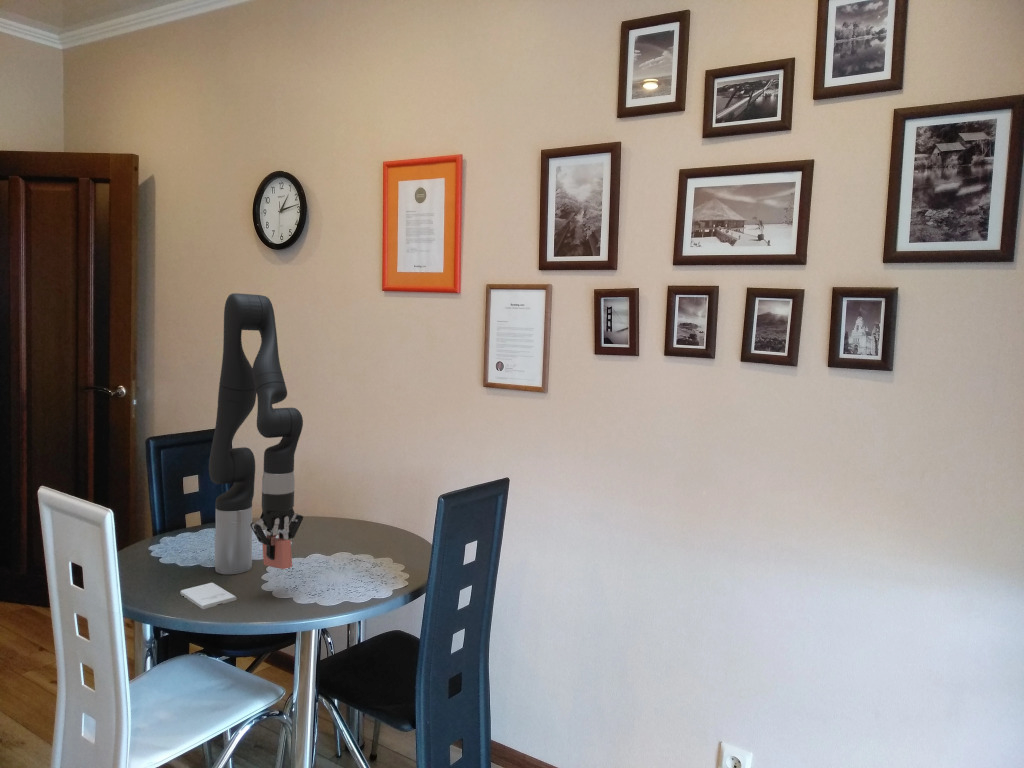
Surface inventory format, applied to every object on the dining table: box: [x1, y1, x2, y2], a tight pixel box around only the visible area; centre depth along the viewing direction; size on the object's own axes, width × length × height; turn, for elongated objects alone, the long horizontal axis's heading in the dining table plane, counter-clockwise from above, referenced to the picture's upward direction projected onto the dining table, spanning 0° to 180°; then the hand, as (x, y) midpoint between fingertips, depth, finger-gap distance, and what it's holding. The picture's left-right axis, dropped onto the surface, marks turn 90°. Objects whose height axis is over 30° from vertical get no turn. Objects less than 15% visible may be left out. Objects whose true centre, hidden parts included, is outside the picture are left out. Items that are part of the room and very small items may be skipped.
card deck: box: [262, 537, 293, 570], centre depth 169 cm, size 9×2×6 cm, turn 50°
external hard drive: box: [179, 582, 237, 610], centre depth 167 cm, size 2×8×12 cm
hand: (276, 557), depth 169 cm, fingers closed on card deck, 2 cm apart
